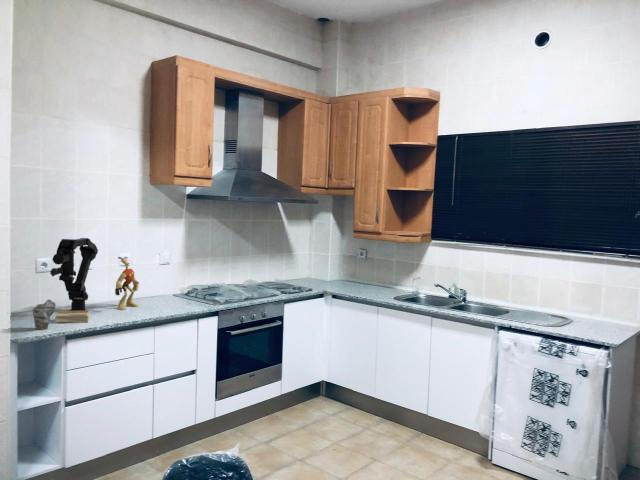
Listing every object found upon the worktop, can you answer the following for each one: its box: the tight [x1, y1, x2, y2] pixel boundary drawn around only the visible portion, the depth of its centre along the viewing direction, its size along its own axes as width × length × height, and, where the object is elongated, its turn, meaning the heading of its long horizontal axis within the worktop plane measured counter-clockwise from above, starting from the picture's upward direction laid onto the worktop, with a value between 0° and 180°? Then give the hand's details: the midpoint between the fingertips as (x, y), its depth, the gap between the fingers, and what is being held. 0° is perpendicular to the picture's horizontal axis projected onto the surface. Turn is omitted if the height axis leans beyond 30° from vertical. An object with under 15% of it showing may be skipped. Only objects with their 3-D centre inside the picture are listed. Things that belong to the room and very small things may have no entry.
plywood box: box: [54, 311, 91, 324], centre depth 276 cm, size 10×15×4 cm, turn 108°
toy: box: [114, 256, 140, 311], centre depth 310 cm, size 23×9×30 cm, turn 168°
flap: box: [57, 310, 89, 314], centre depth 278 cm, size 4×14×1 cm, turn 108°
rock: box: [32, 299, 57, 330], centre depth 257 cm, size 13×6×15 cm, turn 52°
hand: (67, 291), depth 287 cm, fingers closed
